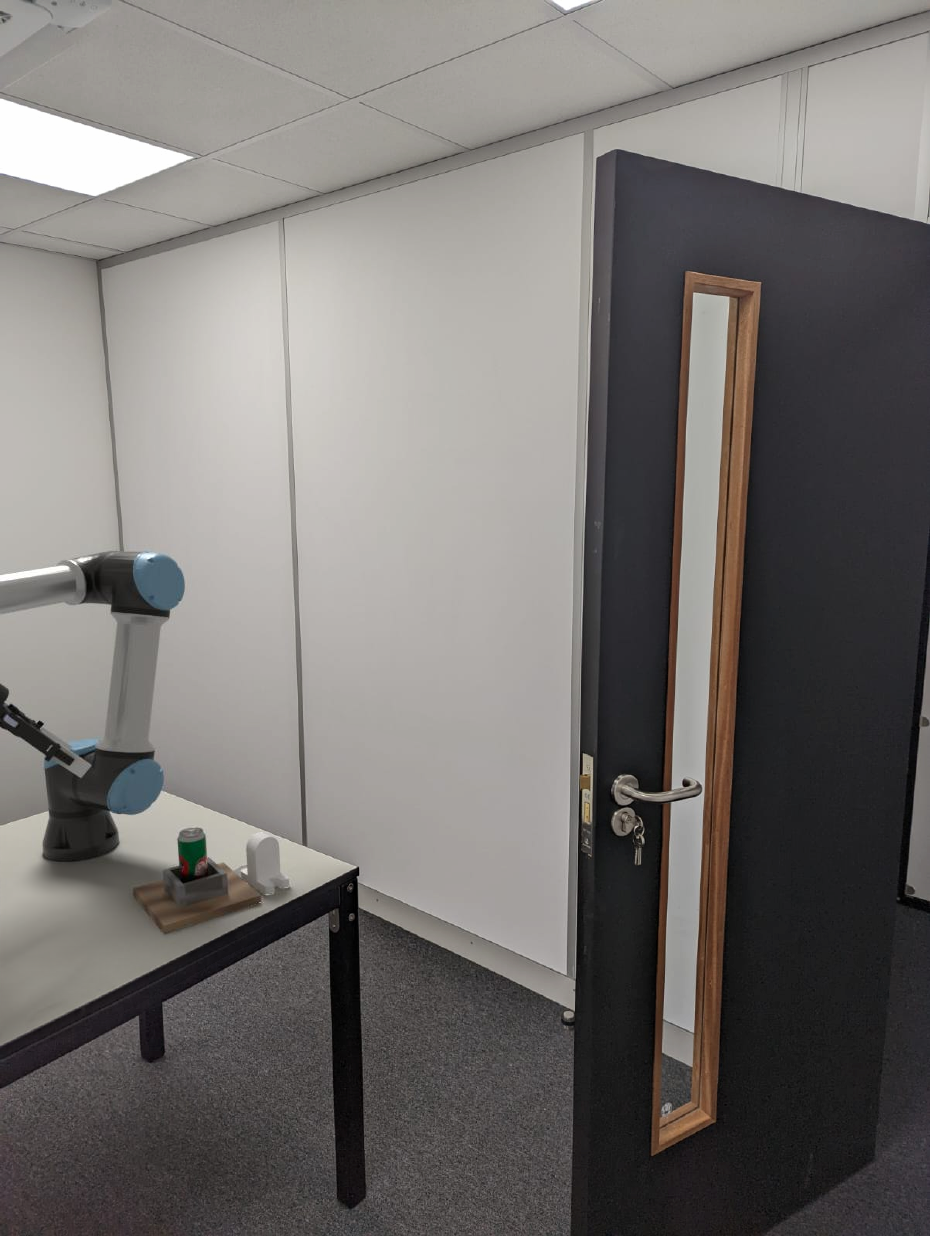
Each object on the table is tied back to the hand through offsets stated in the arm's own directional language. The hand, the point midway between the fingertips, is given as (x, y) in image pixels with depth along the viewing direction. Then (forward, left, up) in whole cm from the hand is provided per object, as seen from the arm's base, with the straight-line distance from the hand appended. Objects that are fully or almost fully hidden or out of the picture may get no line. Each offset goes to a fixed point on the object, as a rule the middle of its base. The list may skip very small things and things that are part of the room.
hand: (76, 761), depth 158 cm
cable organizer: (+13, +30, -28) cm, 43 cm away
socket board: (+11, +17, -28) cm, 34 cm away
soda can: (+11, +16, -26) cm, 33 cm away
